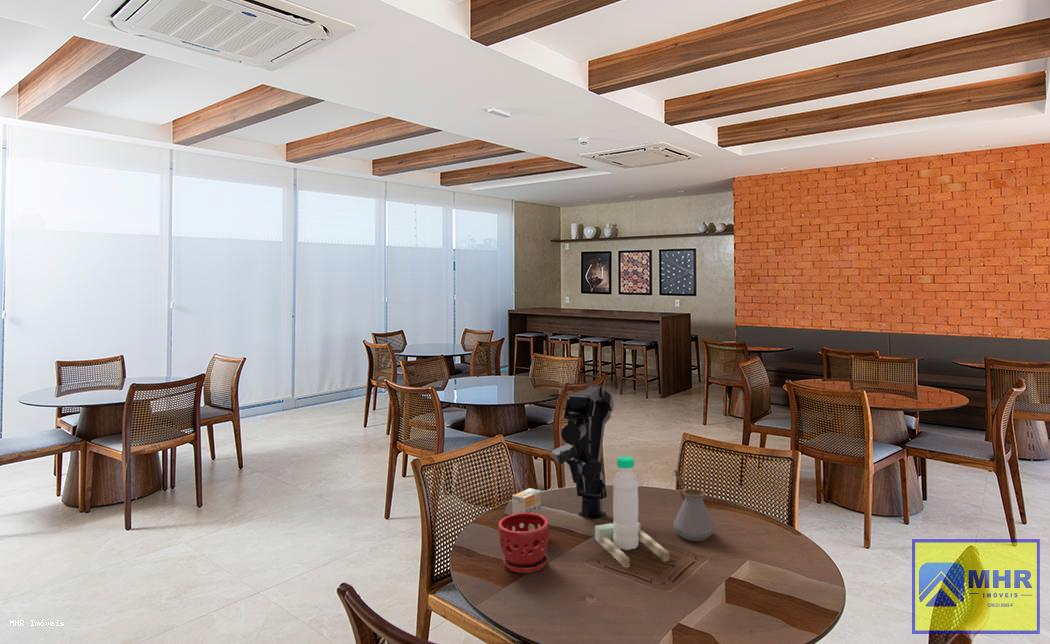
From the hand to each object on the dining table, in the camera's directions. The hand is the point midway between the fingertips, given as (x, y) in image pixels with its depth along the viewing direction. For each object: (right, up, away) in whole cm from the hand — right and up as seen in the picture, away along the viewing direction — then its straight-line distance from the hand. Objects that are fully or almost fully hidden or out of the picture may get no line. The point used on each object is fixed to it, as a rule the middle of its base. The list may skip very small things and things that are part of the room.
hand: (580, 487), depth 178 cm
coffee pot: (+32, -13, +1) cm, 34 cm away
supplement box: (-16, -14, -3) cm, 21 cm away
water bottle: (+12, -14, -10) cm, 21 cm away
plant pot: (-17, -15, -22) cm, 31 cm away
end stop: (+10, -13, -5) cm, 17 cm away
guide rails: (+13, -14, -14) cm, 24 cm away
